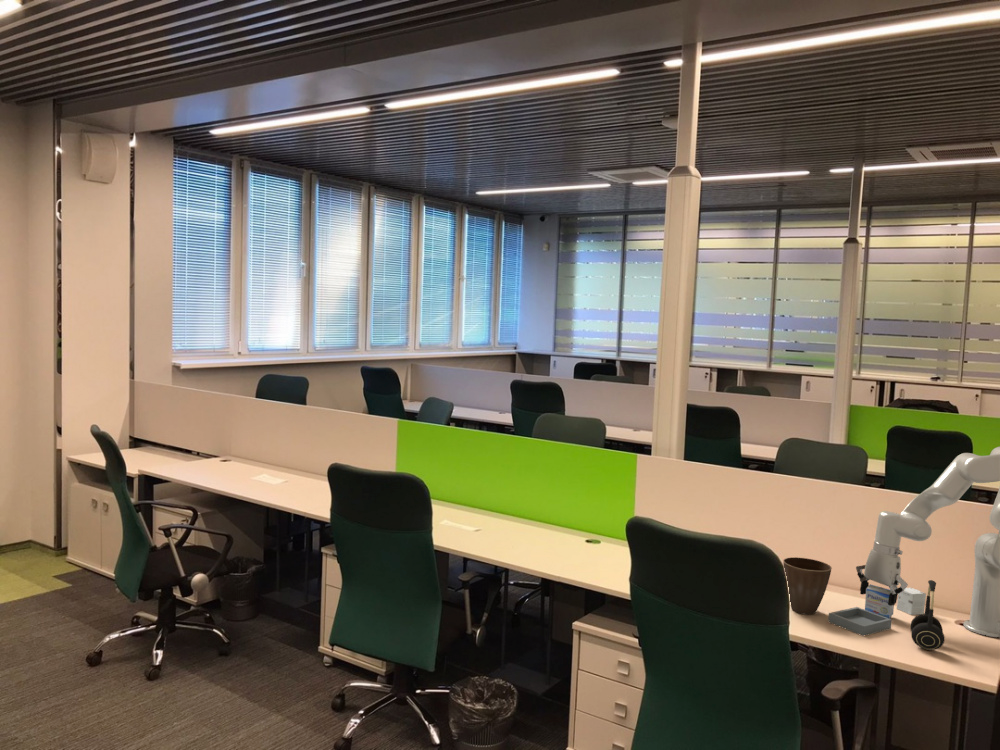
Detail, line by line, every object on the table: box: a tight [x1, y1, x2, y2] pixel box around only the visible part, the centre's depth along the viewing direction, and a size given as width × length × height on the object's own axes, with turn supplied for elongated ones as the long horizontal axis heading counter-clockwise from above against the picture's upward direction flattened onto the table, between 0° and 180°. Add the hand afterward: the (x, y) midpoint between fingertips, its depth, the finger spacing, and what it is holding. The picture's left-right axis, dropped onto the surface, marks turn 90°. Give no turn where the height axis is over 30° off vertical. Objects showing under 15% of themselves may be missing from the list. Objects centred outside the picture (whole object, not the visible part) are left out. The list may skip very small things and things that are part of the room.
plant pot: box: [782, 556, 833, 616], centre depth 253 cm, size 15×15×16 cm
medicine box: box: [864, 583, 895, 619], centre depth 254 cm, size 8×4×9 cm, turn 47°
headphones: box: [909, 579, 946, 651], centre depth 229 cm, size 9×15×20 cm, turn 154°
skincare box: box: [896, 587, 927, 616], centre depth 261 cm, size 6×6×7 cm
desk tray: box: [827, 606, 893, 637], centre depth 243 cm, size 12×15×3 cm
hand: (877, 599), depth 253 cm, fingers open, 9 cm apart
